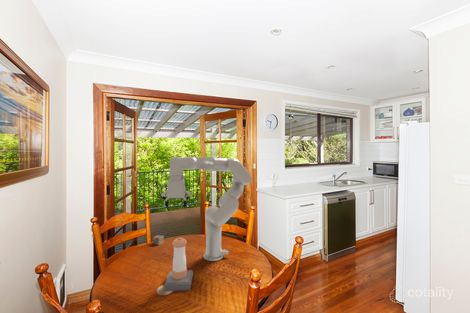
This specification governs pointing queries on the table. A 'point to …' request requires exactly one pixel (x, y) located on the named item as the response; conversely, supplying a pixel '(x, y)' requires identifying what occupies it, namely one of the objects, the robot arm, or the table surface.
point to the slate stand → (178, 282)
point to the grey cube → (158, 240)
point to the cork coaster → (162, 291)
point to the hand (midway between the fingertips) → (176, 207)
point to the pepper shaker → (179, 259)
